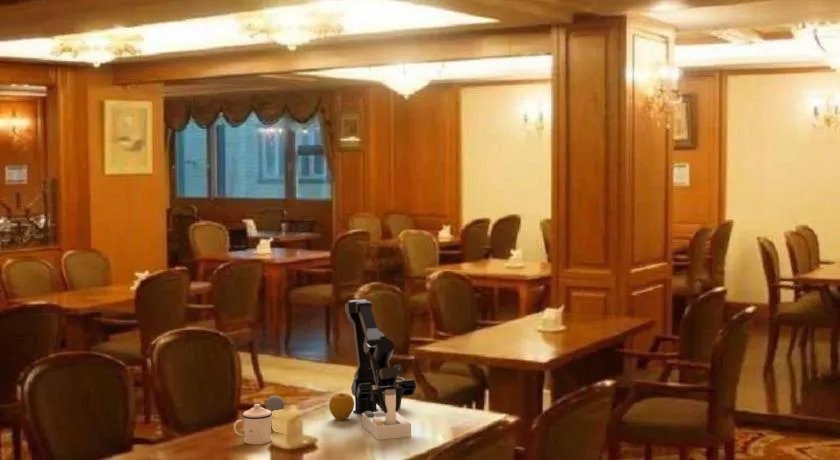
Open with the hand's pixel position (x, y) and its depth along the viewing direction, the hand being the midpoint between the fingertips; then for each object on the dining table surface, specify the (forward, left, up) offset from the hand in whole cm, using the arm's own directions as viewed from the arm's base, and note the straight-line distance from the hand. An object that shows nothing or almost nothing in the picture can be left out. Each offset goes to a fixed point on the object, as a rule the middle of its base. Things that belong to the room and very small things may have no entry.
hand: (391, 412), depth 349 cm
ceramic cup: (-18, +31, -8) cm, 37 cm away
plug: (-1, +1, -7) cm, 7 cm away
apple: (-26, +11, -8) cm, 29 cm away
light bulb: (-42, -5, -8) cm, 43 cm away
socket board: (-5, +5, -8) cm, 10 cm away
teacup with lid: (-37, -24, -8) cm, 44 cm away
